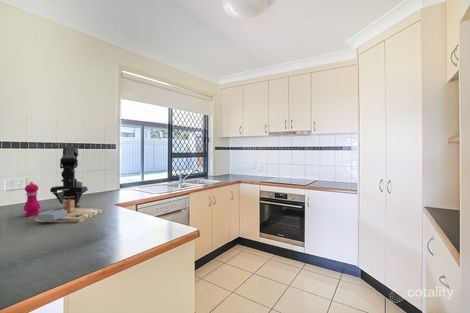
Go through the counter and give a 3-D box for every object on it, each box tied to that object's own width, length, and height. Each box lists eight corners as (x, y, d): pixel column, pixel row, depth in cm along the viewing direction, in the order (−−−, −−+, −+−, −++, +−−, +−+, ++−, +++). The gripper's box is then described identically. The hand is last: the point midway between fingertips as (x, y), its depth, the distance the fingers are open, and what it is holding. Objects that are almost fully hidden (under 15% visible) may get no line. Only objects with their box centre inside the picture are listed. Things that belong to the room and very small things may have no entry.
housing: (51, 215, 128) (51, 209, 128) (67, 215, 128) (67, 209, 128) (37, 219, 119) (37, 214, 119) (54, 220, 119) (54, 214, 119)
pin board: (64, 211, 143) (64, 208, 143) (101, 212, 142) (101, 208, 142) (35, 221, 123) (35, 218, 123) (78, 222, 122) (78, 218, 122)
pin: (64, 215, 134) (64, 200, 134) (69, 214, 138) (68, 199, 137) (70, 215, 134) (69, 200, 134) (74, 214, 137) (74, 199, 137)
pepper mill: (30, 217, 131) (29, 182, 131) (20, 216, 133) (19, 182, 132) (43, 213, 138) (42, 180, 138) (33, 213, 140) (33, 180, 139)
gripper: (93, 176, 143) (93, 200, 143) (64, 175, 143) (64, 200, 144) (80, 178, 132) (81, 205, 132) (49, 178, 132) (49, 204, 133)
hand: (69, 203), depth 135 cm, fingers open, 9 cm apart
